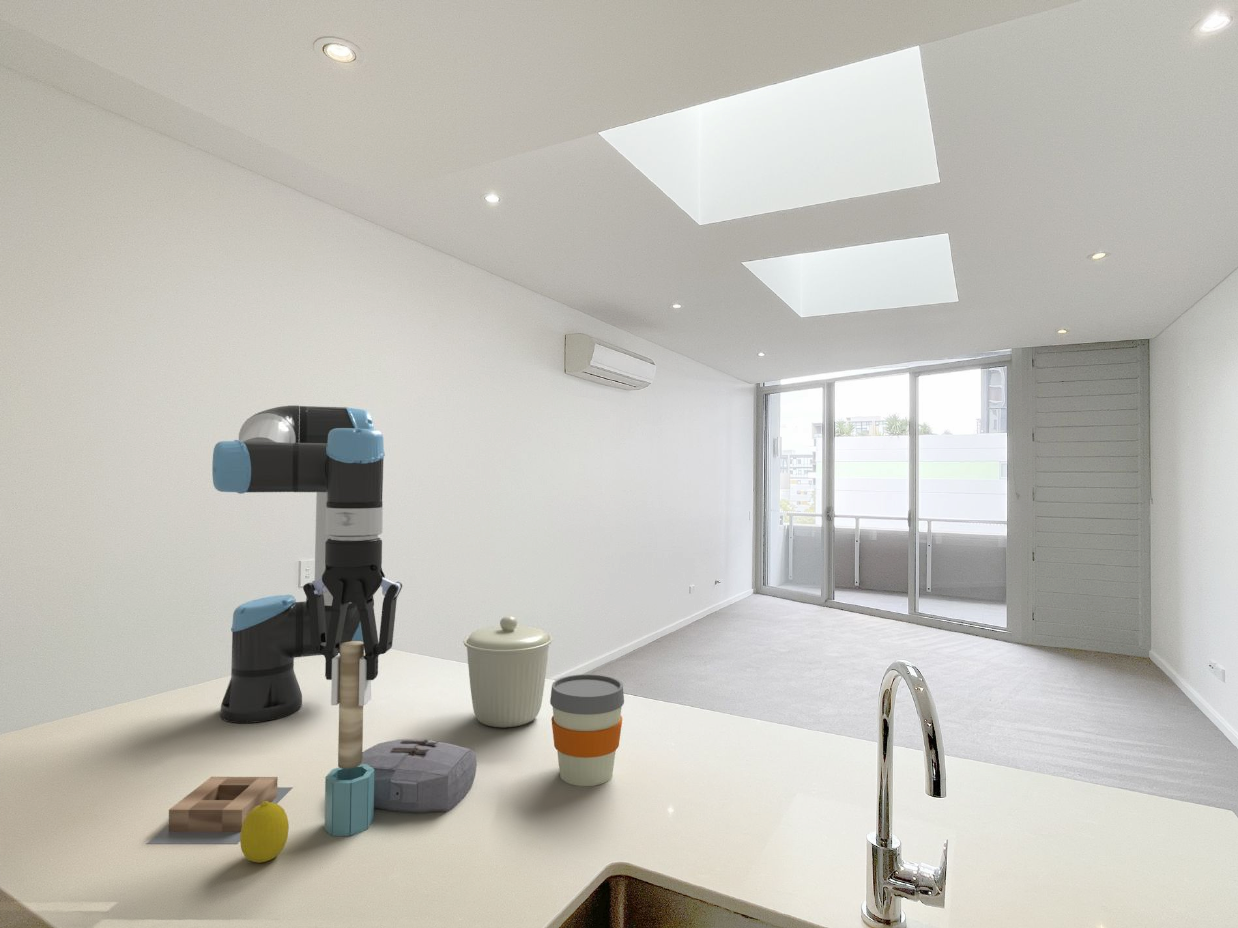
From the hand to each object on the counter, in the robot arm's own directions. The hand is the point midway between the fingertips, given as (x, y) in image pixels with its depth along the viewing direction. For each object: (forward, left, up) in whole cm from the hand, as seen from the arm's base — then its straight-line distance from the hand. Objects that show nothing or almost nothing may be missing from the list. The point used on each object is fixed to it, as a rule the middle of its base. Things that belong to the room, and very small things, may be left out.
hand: (351, 701), depth 95 cm
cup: (0, 0, -18) cm, 18 cm away
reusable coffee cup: (-18, +33, -18) cm, 42 cm away
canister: (-43, +16, -18) cm, 49 cm away
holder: (-3, -19, -17) cm, 26 cm away
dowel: (0, 0, -9) cm, 9 cm away
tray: (-3, -19, -18) cm, 26 cm away
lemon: (+8, -8, -18) cm, 21 cm away
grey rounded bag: (-10, +5, -18) cm, 22 cm away
